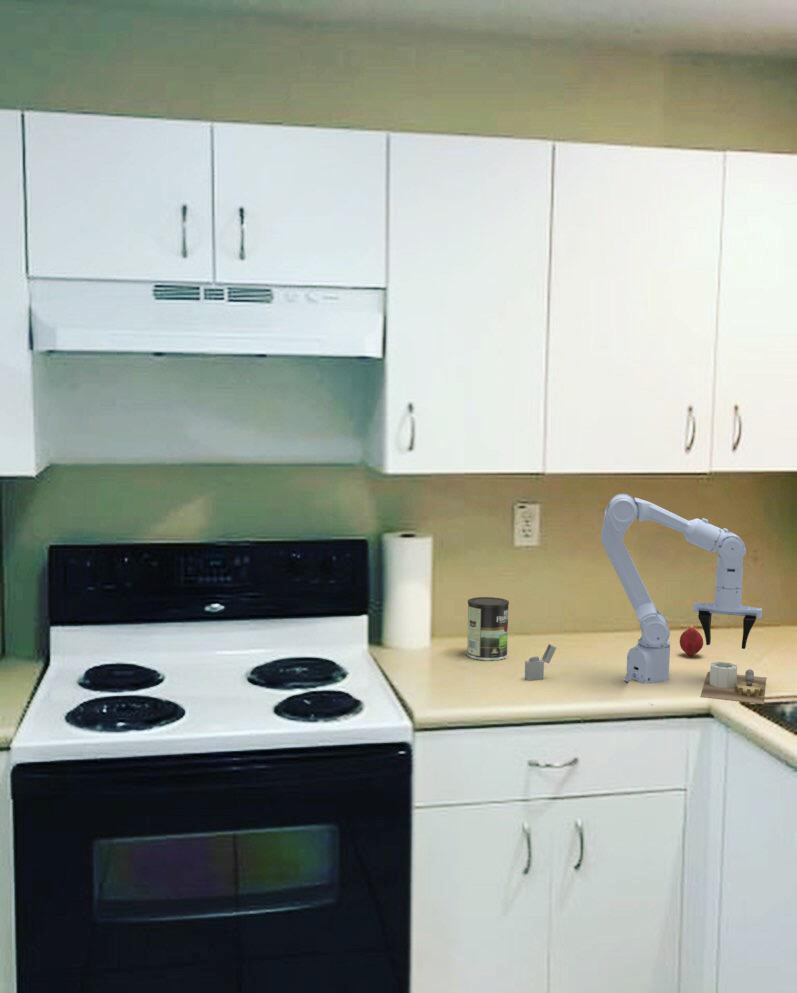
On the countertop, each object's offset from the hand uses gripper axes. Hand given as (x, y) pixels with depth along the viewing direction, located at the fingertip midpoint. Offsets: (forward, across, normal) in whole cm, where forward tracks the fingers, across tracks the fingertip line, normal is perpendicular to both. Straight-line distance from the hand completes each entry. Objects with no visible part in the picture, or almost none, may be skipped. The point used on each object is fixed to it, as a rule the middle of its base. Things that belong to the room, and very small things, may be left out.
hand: (725, 646), depth 232 cm
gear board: (+9, -3, +4) cm, 10 cm away
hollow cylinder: (+8, 0, +3) cm, 9 cm away
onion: (+10, +11, -25) cm, 29 cm away
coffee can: (+10, +58, -2) cm, 58 cm away
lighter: (+10, +40, +12) cm, 43 cm away
